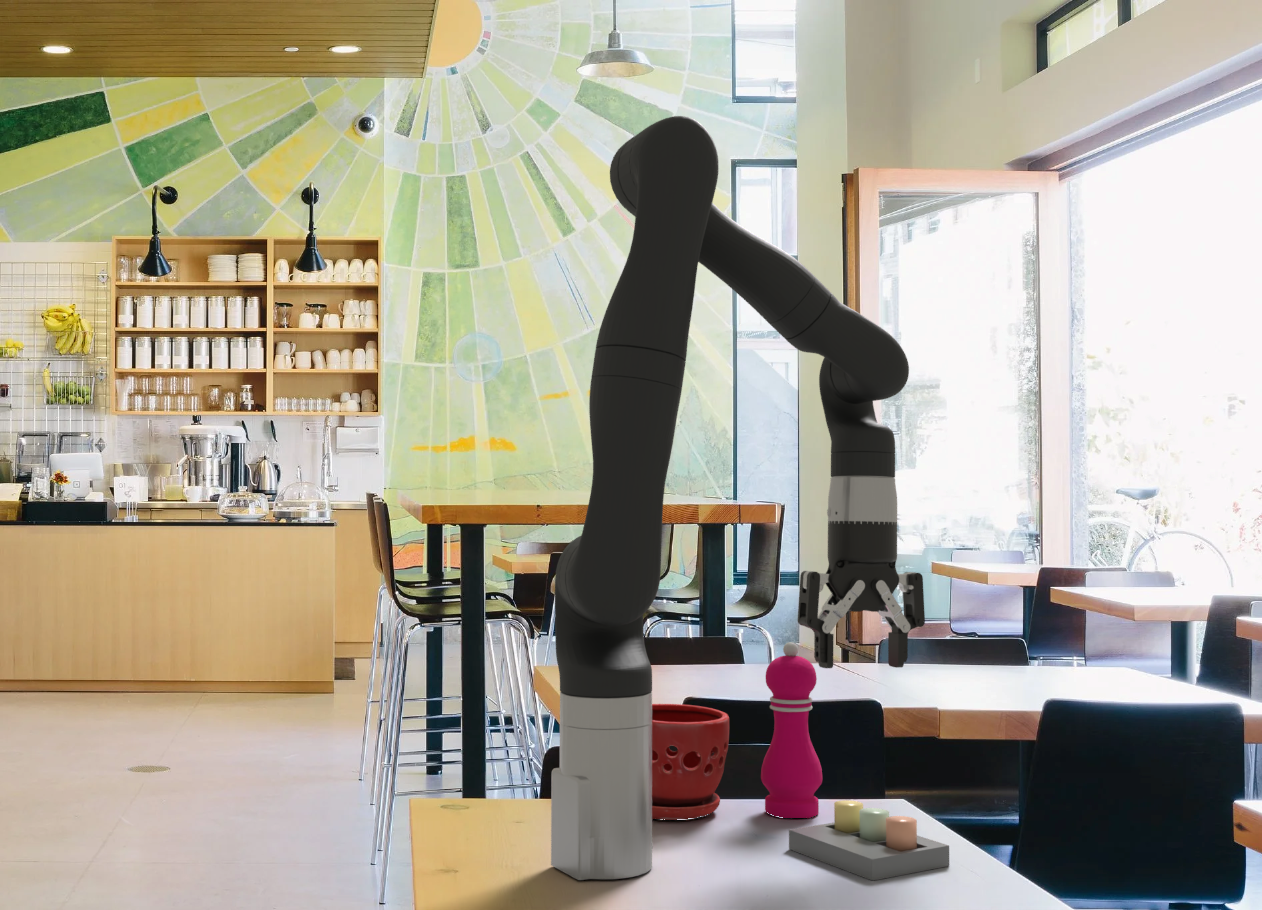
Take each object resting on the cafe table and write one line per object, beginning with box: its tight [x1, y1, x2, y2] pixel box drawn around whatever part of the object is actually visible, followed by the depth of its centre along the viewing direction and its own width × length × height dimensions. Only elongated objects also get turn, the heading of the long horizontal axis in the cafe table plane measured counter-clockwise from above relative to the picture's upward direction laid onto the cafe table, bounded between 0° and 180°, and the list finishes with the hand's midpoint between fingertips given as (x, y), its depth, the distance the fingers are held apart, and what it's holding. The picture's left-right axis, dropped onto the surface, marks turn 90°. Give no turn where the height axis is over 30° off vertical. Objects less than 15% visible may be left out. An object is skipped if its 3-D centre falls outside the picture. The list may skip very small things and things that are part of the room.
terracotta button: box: [886, 815, 918, 852], centre depth 121 cm, size 3×3×3 cm
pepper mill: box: [760, 641, 823, 819], centre depth 144 cm, size 7×7×20 cm
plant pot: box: [652, 703, 730, 820], centre depth 143 cm, size 13×13×12 cm
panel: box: [788, 822, 950, 881], centre depth 124 cm, size 10×13×2 cm
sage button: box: [859, 807, 890, 842], centre depth 125 cm, size 3×3×3 cm
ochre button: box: [833, 799, 864, 834], centre depth 128 cm, size 3×3×3 cm
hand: (861, 667), depth 133 cm, fingers open, 8 cm apart
